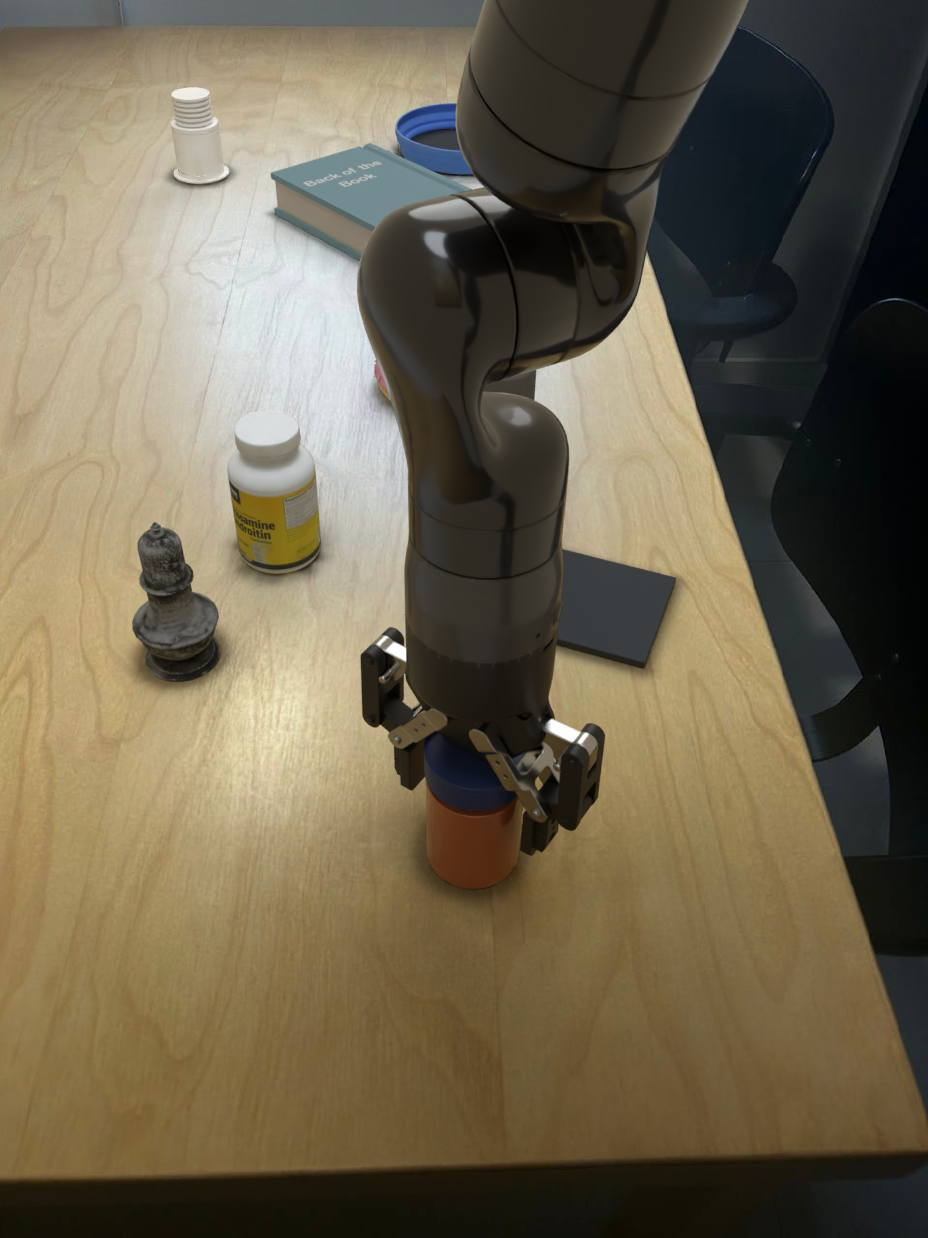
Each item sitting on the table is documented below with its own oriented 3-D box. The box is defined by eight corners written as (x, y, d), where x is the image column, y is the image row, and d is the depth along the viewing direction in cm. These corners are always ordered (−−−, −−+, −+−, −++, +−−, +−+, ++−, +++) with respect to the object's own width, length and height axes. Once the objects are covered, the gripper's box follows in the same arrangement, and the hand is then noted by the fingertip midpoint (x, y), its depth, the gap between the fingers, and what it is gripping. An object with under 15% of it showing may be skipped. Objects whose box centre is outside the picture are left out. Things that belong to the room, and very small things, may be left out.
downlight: (228, 186, 140) (218, 103, 133) (172, 188, 139) (159, 105, 133) (230, 162, 146) (220, 82, 139) (175, 164, 145) (163, 83, 138)
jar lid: (547, 789, 61) (550, 768, 60) (453, 828, 59) (453, 806, 58) (497, 718, 65) (498, 695, 64) (406, 751, 63) (406, 729, 62)
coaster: (675, 583, 86) (676, 577, 85) (644, 668, 79) (645, 662, 78) (552, 552, 88) (552, 546, 88) (511, 632, 81) (511, 626, 81)
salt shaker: (163, 697, 76) (130, 563, 68) (127, 648, 79) (92, 515, 71) (239, 662, 78) (217, 529, 70) (202, 616, 82) (176, 484, 74)
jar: (530, 829, 68) (539, 737, 63) (500, 902, 65) (507, 812, 59) (446, 802, 70) (447, 710, 64) (412, 871, 66) (410, 781, 60)
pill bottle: (228, 539, 89) (208, 414, 81) (304, 517, 91) (292, 394, 83) (256, 587, 84) (237, 461, 76) (334, 563, 87) (325, 438, 79)
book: (274, 213, 134) (270, 172, 131) (377, 180, 142) (376, 140, 139) (393, 279, 122) (392, 235, 119) (498, 238, 130) (500, 196, 127)
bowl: (375, 166, 146) (374, 138, 144) (422, 121, 159) (422, 95, 156) (506, 186, 142) (507, 157, 140) (543, 138, 155) (545, 111, 152)
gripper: (317, 590, 54) (337, 798, 65) (574, 713, 48) (547, 918, 59) (406, 513, 58) (411, 719, 70) (650, 617, 53) (612, 823, 64)
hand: (474, 810), depth 64 cm, fingers open, 8 cm apart
